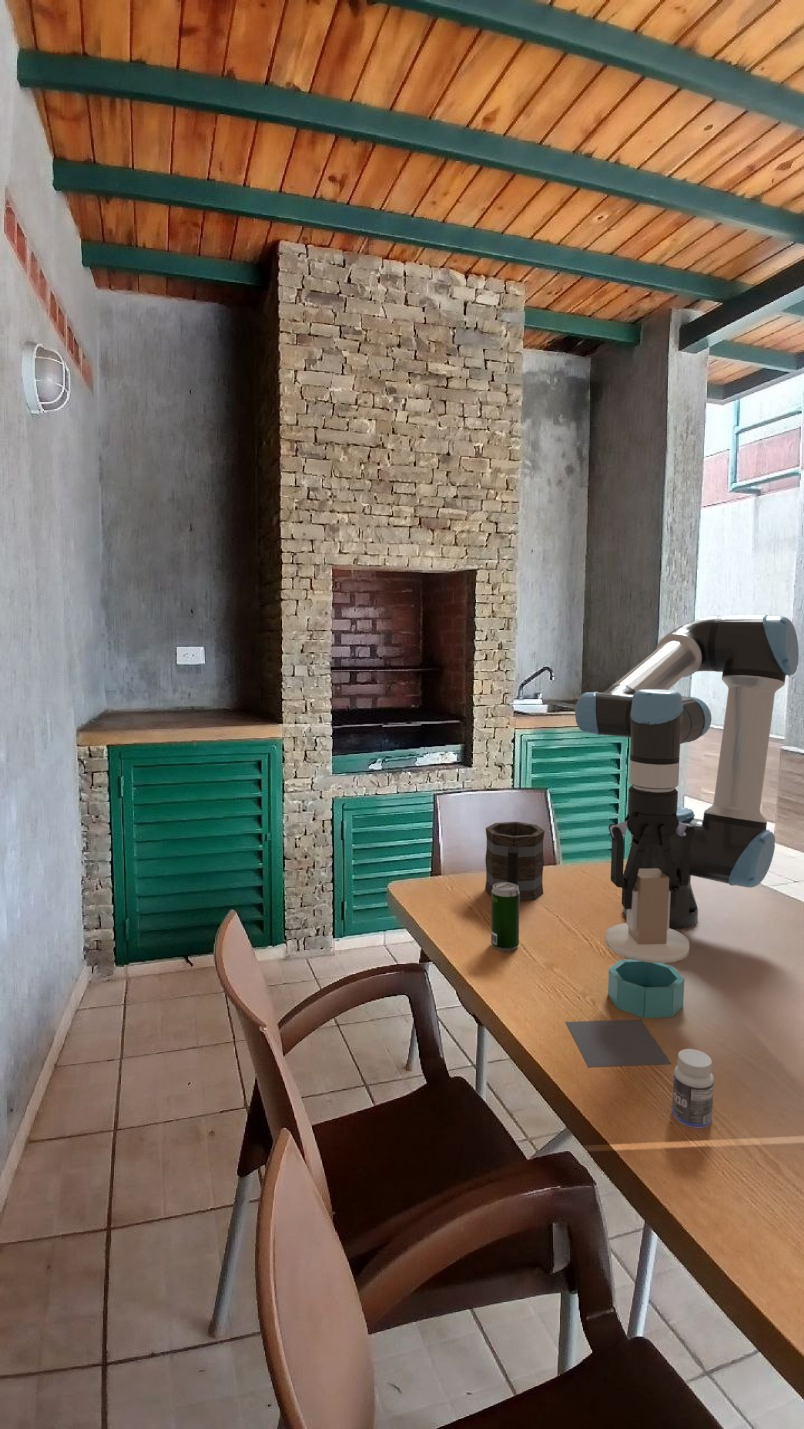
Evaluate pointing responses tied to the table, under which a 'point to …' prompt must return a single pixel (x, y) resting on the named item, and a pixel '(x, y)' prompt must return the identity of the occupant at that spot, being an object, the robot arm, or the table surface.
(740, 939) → the table surface
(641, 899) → the lid
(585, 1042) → the mat
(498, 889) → the beer can
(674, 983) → the bowl
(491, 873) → the mug
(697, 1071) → the pill bottle
